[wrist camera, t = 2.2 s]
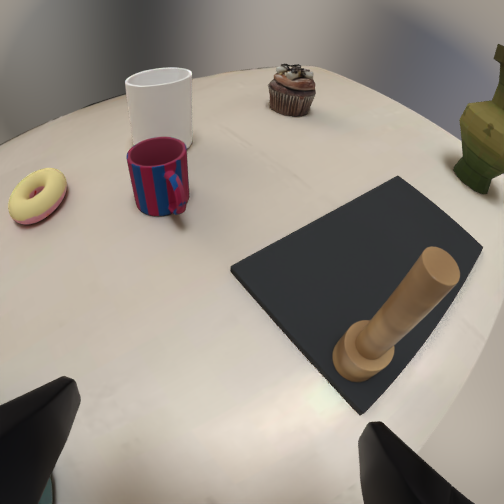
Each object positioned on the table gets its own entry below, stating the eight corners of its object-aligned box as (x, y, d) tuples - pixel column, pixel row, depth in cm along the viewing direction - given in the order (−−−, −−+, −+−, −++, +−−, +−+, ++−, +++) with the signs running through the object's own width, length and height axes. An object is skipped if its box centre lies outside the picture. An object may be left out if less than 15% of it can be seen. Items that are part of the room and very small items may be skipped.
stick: (387, 360, 23) (480, 272, 13) (356, 392, 21) (455, 316, 11) (355, 326, 25) (428, 223, 15) (321, 355, 23) (393, 256, 13)
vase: (438, 147, 56) (478, 35, 33) (491, 178, 52) (537, 75, 29) (443, 181, 46) (500, 39, 23) (505, 217, 42) (569, 93, 19)
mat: (480, 250, 35) (483, 247, 34) (359, 415, 21) (363, 413, 20) (396, 179, 43) (397, 175, 43) (230, 271, 29) (230, 265, 28)
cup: (180, 176, 38) (177, 131, 33) (207, 225, 33) (206, 174, 28) (131, 190, 36) (122, 145, 31) (149, 243, 30) (137, 193, 25)
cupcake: (321, 114, 56) (330, 71, 49) (287, 121, 52) (295, 73, 44) (290, 98, 61) (296, 58, 53) (256, 104, 57) (260, 60, 49)
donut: (78, 191, 38) (28, 190, 36) (75, 163, 36) (24, 164, 33) (54, 232, 31) (0, 228, 29) (48, 200, 28) (-9, 199, 26)
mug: (142, 167, 39) (132, 91, 30) (125, 135, 45) (117, 73, 36) (202, 150, 43) (202, 78, 34) (176, 121, 49) (174, 61, 40)
